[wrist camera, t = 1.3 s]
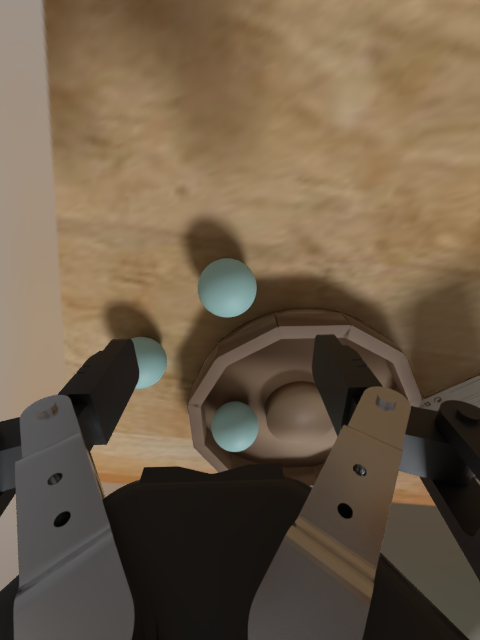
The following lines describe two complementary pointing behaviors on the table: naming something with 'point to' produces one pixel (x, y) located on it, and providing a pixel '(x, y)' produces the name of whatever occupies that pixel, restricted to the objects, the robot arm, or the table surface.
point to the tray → (286, 387)
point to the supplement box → (456, 396)
